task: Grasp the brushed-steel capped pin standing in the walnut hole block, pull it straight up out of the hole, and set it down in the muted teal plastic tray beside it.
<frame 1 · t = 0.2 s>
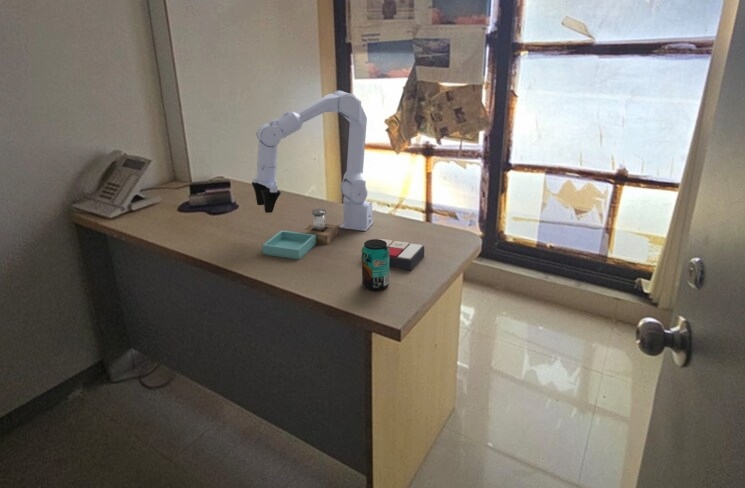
hand: (264, 208, 150), 11 cm above the table, tool pointing down, fingers open, 7 cm apart
tray: (290, 248, 148), on the table
calculator: (394, 260, 142), on the table
beverage can: (375, 286, 127), on the table
hole block: (320, 237, 156), on the table
steel pin: (319, 224, 155), in the hole block
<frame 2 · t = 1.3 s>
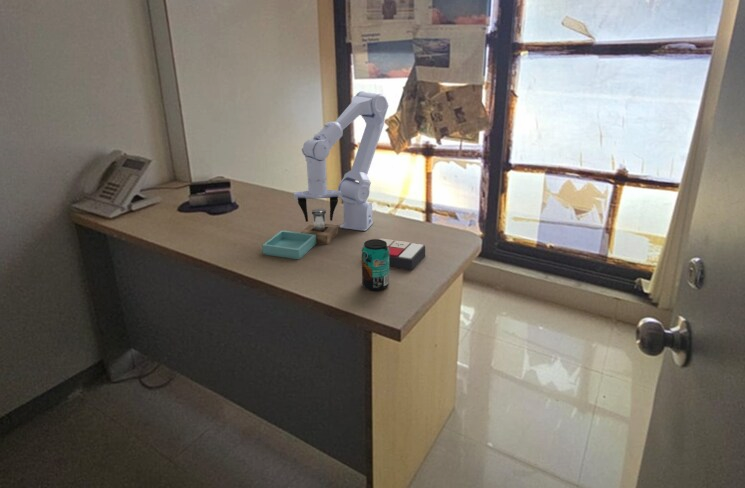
hand: (319, 220, 154), 6 cm above the table, tool pointing down, fingers open, 7 cm apart
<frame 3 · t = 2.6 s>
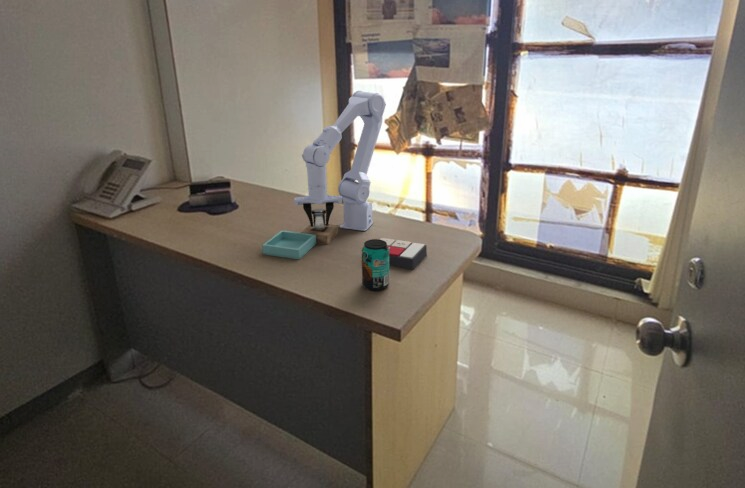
hand: (319, 225, 155), 4 cm above the table, tool pointing down, fingers closed on steel pin, 4 cm apart
steel pin: (319, 224, 155), in the hole block, touching gripper
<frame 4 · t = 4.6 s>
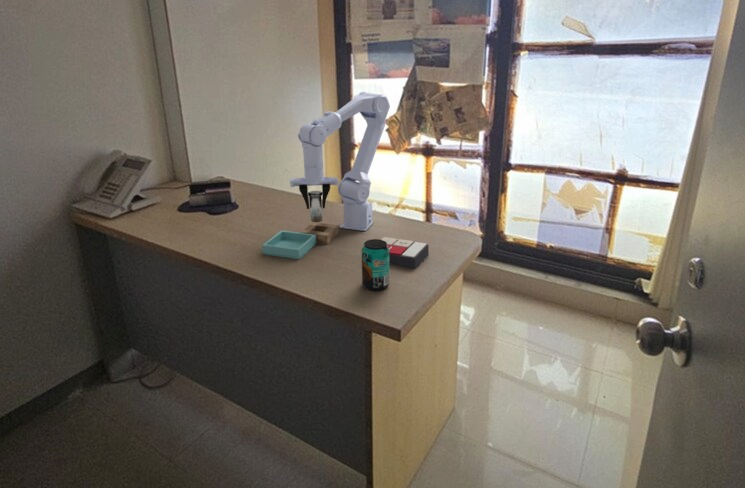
hand: (315, 207, 151), 10 cm above the table, tool pointing down, fingers closed on steel pin, 4 cm apart
steel pin: (315, 206, 151), point 11 cm above the table, touching gripper
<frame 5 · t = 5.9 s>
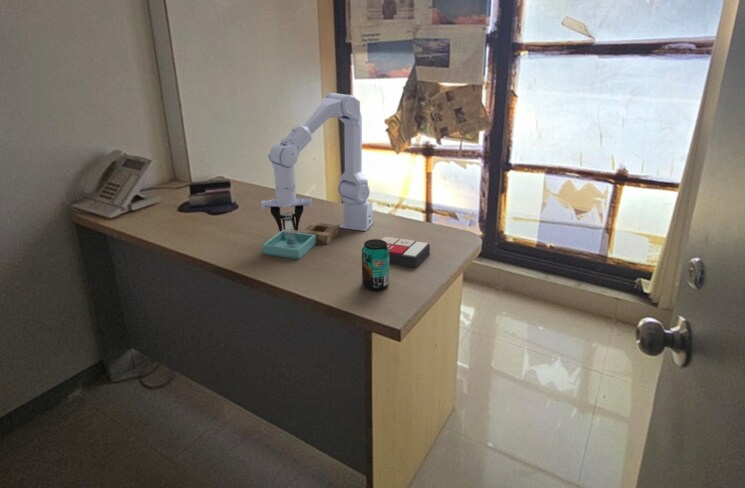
hand: (288, 229, 146), 6 cm above the table, tool pointing down, fingers closed on steel pin, 4 cm apart
steel pin: (289, 228, 146), point 6 cm above the table, touching gripper
when the fingers open (6 cm above the table, at t = 6.8 s): steel pin moves 1 cm, resting on tray.
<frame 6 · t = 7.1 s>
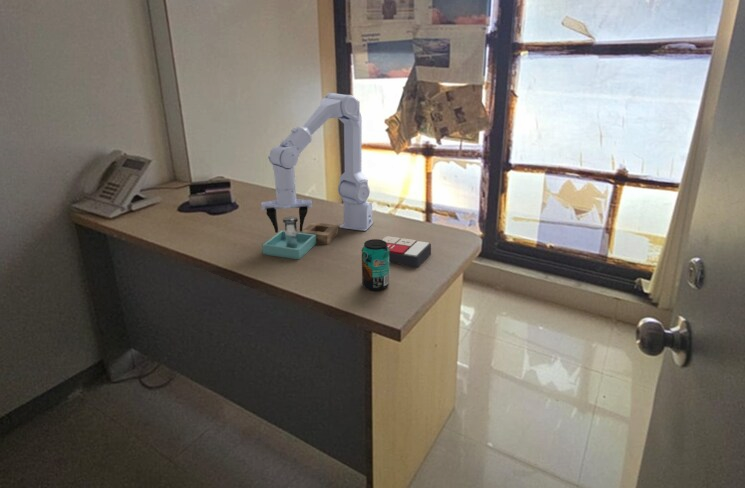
hand: (289, 230, 146), 6 cm above the table, tool pointing down, fingers open, 7 cm apart
steel pin: (291, 232, 147), in the tray, point 5 cm above the table
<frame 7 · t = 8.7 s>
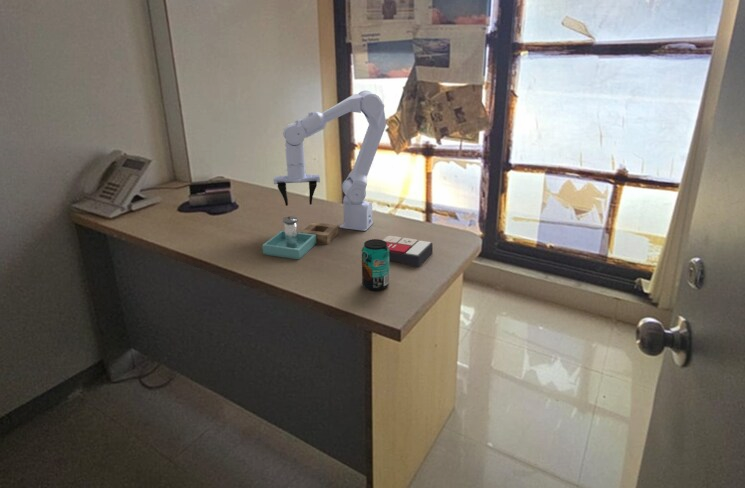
hand: (298, 204, 158), 9 cm above the table, tool pointing down, fingers open, 7 cm apart
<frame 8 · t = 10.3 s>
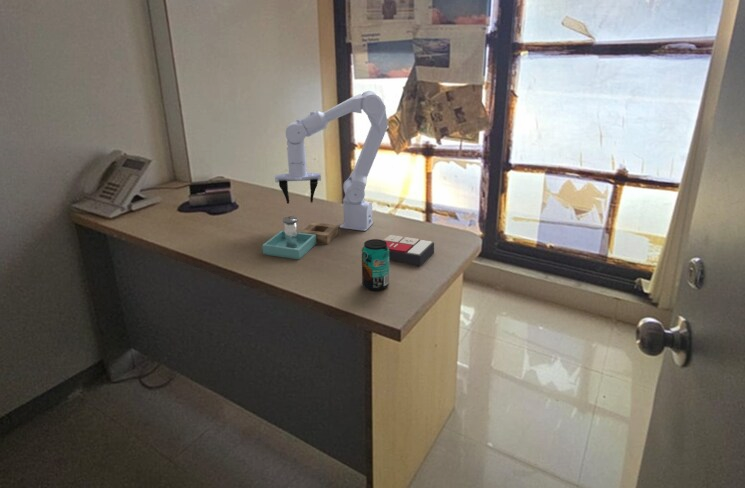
hand: (299, 202, 160), 9 cm above the table, tool pointing down, fingers open, 7 cm apart
at the end: steel pin inside the target area on the tray (0.6 cm from its centre), point 5.1 cm above the tray's base; the gripper is holding nothing; steel pin moved 11.5 cm from its start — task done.
